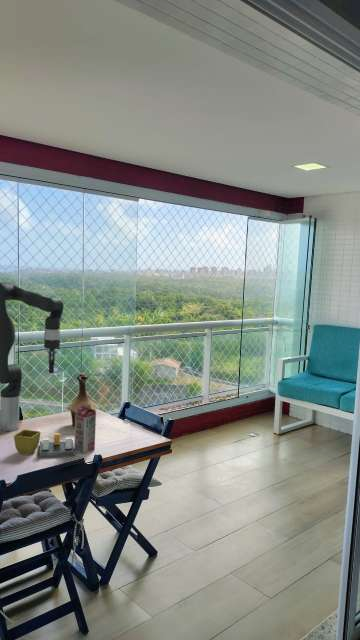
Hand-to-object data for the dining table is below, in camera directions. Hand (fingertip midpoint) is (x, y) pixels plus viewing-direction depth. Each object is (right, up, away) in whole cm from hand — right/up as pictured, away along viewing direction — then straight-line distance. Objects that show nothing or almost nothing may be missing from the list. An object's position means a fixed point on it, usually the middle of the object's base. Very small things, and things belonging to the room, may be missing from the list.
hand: (51, 373), depth 241 cm
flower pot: (-6, -34, -20) cm, 40 cm away
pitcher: (+11, -31, +23) cm, 40 cm away
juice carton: (+19, -35, -13) cm, 41 cm away
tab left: (+3, -32, -21) cm, 38 cm away
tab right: (+13, -32, -18) cm, 39 cm away
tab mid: (+6, -31, -14) cm, 35 cm away
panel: (+7, -34, -15) cm, 38 cm away
